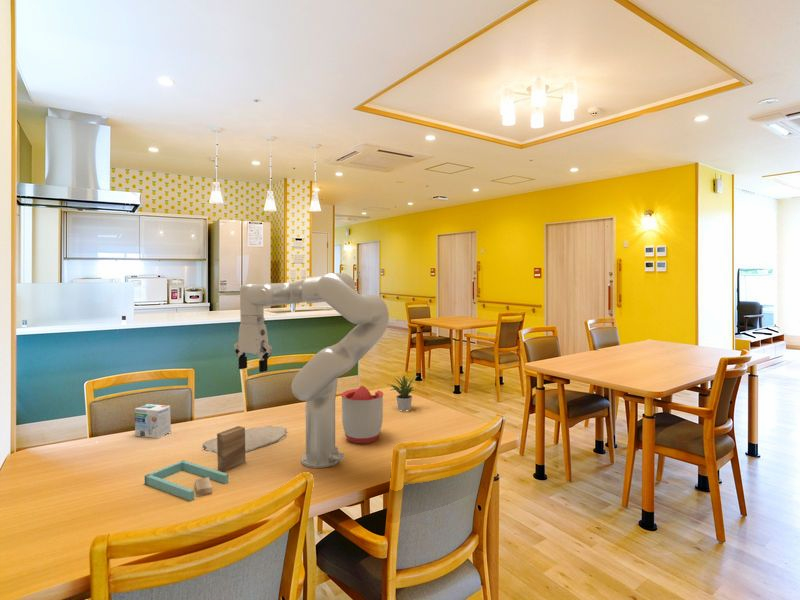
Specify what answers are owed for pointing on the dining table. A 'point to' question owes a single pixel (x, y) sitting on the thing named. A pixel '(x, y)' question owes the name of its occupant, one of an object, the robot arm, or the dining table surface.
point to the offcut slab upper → (203, 486)
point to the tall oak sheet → (231, 448)
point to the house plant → (403, 393)
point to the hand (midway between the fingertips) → (253, 370)
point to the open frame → (178, 490)
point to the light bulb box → (152, 420)
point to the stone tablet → (254, 438)
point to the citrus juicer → (362, 415)
